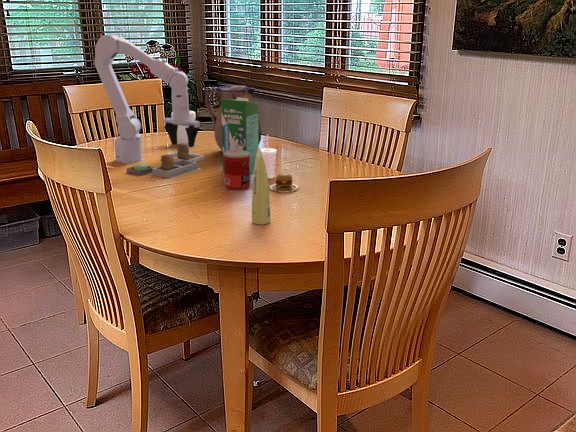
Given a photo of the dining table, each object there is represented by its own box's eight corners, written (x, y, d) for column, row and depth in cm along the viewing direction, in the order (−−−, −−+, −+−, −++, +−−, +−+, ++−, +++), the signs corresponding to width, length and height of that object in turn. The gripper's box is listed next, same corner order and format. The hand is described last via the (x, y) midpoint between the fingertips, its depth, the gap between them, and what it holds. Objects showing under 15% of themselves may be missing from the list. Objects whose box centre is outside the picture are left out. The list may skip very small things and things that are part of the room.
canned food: (246, 191, 176) (246, 156, 172) (221, 189, 177) (220, 154, 173) (253, 184, 183) (252, 150, 179) (228, 182, 184) (227, 149, 180)
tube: (245, 221, 151) (244, 148, 144) (259, 216, 154) (258, 145, 148) (261, 226, 147) (261, 152, 141) (275, 221, 151) (274, 148, 144)
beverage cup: (260, 179, 188) (260, 137, 183) (256, 174, 193) (256, 133, 188) (278, 178, 189) (279, 136, 184) (274, 173, 195) (274, 132, 190)
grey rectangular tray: (148, 176, 190) (148, 168, 189) (180, 167, 202) (179, 158, 200) (171, 181, 185) (170, 172, 184) (202, 171, 196) (201, 162, 195)
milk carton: (259, 170, 199) (258, 96, 190) (246, 176, 191) (245, 100, 183) (236, 166, 202) (234, 94, 194) (223, 173, 195) (220, 98, 186)
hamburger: (260, 195, 175) (260, 177, 173) (269, 183, 186) (269, 167, 184) (299, 197, 172) (299, 179, 170) (306, 186, 183) (306, 169, 182)
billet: (175, 160, 208) (174, 144, 205) (183, 158, 211) (182, 142, 209) (183, 162, 205) (182, 145, 203) (191, 159, 209) (190, 143, 207)
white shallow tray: (161, 162, 208) (161, 156, 207) (179, 156, 215) (179, 151, 215) (187, 167, 201) (187, 161, 201) (205, 161, 209) (205, 155, 208)
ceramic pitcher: (259, 159, 213) (259, 90, 204) (202, 158, 213) (199, 90, 204) (262, 148, 229) (262, 84, 220) (209, 147, 229) (207, 83, 221)
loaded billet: (159, 174, 189) (158, 156, 187) (168, 171, 193) (167, 153, 190) (168, 175, 187) (167, 157, 185) (177, 173, 190) (176, 155, 188)
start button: (131, 174, 191) (130, 165, 190) (141, 171, 195) (140, 162, 194) (141, 176, 189) (140, 167, 188) (150, 173, 193) (150, 164, 192)
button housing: (127, 175, 191) (126, 168, 190) (141, 171, 196) (141, 164, 195) (141, 178, 188) (140, 171, 187) (155, 174, 193) (154, 167, 192)
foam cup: (169, 145, 232) (167, 113, 228) (179, 141, 240) (177, 109, 236) (190, 147, 230) (188, 115, 225) (200, 142, 238) (199, 111, 233)
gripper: (156, 107, 201) (159, 145, 206) (190, 110, 195) (192, 150, 200) (169, 104, 207) (172, 141, 212) (202, 107, 201) (204, 145, 206)
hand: (182, 145), depth 206 cm, fingers open, 7 cm apart
